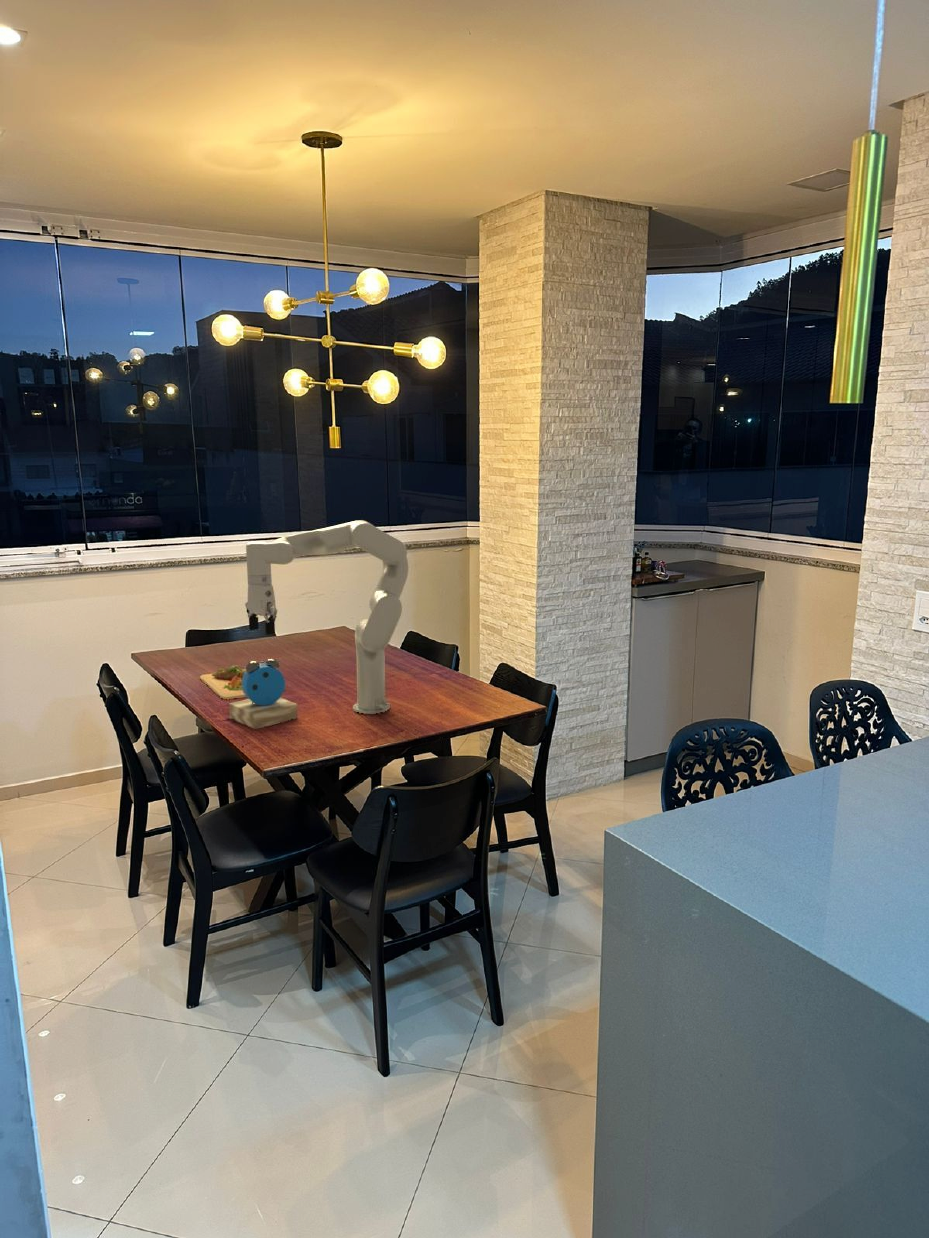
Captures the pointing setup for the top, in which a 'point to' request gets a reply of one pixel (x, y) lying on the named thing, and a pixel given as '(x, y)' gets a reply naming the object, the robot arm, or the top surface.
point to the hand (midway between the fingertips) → (262, 631)
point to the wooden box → (262, 712)
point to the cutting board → (226, 682)
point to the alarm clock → (263, 682)
